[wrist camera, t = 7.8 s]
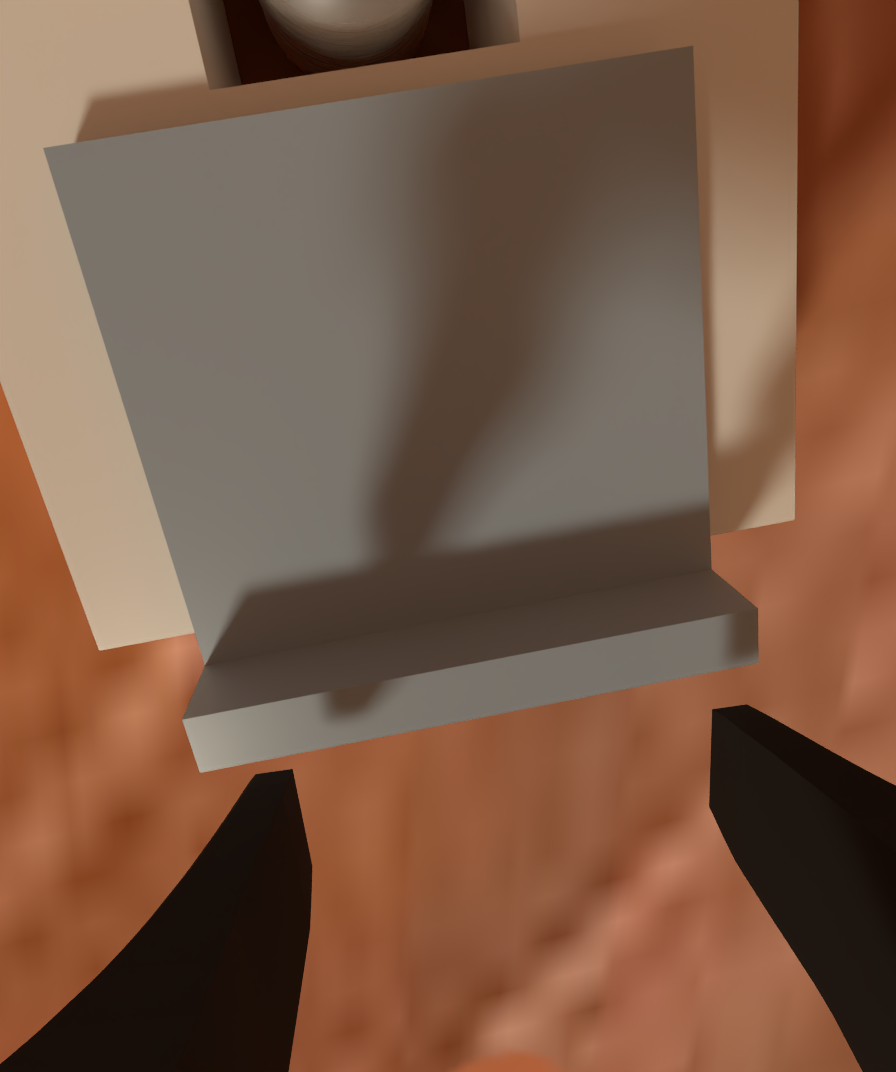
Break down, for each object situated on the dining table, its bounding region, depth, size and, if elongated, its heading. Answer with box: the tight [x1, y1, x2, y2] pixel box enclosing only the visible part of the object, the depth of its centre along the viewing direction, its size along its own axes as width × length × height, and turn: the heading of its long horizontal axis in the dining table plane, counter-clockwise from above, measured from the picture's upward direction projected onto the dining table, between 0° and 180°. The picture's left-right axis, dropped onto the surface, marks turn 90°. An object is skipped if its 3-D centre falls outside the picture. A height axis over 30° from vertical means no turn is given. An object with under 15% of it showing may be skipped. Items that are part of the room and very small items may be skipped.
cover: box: [43, 46, 758, 773], centre depth 13 cm, size 11×11×3 cm
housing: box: [0, 0, 799, 651], centre depth 16 cm, size 16×18×6 cm
